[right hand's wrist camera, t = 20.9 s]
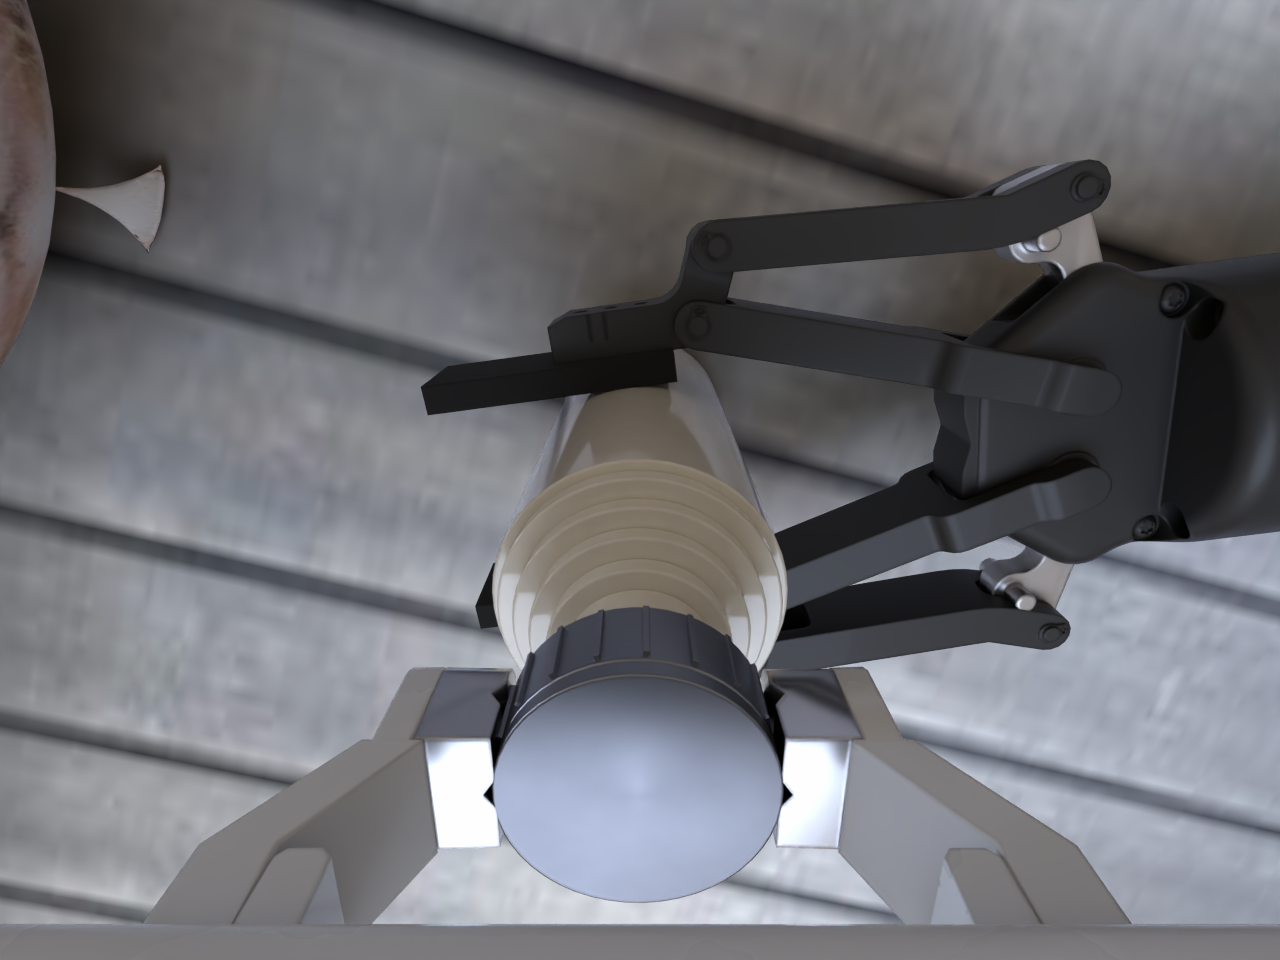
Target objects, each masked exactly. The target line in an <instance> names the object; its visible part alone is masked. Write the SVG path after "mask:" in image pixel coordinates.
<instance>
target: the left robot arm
mask: <svg viewBox="0 0 1280 960" xmlns="http://www.w3.org/2000/svg"><path fill="white" fill-rule="evenodd" d="M1110 187H1111V176H1110V173H1109V171H1108V169H1107V167H1106V166H1105V165H1103V164H1102V163H1101V162H1100V161H1095V160H1082V161H1075V162H1067V163H1059V164H1052V165H1045V166H1038V167H1032V168H1028V169H1025V170H1023V171H1021V172H1018V173H1016V174H1014V175H1012V176H1010V177H1008V178H1005V179H1003V180H1001V181H999V182H997V183H995V184H992V185H990V186H988V187H986V188H984V189H982V190H979V191H977V192H975V193H973V194H971V195H969V196H967V197H964V198H956V199H945V200H933V201H922V202H911V203H899V204H888V205H877V206H866V207H854V208H843V209H832V210H821V211H809V212H798V213H787V214H775V215H764V216H753V217H742V218H730V219H719V220H708V221H704V222H701V223H698V224H697V225H696V226H694V227H693V228H692V229H691V231H690V232H689V234H688V236H687V241H686V249H685V254H684V258H683V262H682V267H681V271H680V275H679V278H678V281H677V283H676V285H675V286H674V288H673V289H672V290H671V291H670V292H669V293H667V294H666V295H664V296H662V297H659V298H655V299H649V300H642V301H635V302H628V303H620V304H613V305H607V306H599V307H593V308H585V309H577V310H570V311H569V312H567V313H565V314H564V315H562V316H560V317H559V318H557V319H555V320H554V321H553V322H552V323H551V324H550V325H549V326H548V333H549V339H550V344H551V350H552V352H549V353H541V354H534V355H527V356H519V357H512V358H505V359H498V360H490V361H483V362H476V363H468V364H461V365H454V366H448V367H446V368H445V369H444V370H442V371H441V372H440V373H438V374H437V375H436V376H434V377H433V378H432V379H431V380H429V381H428V382H427V383H425V384H424V385H423V386H421V390H422V394H423V398H424V402H425V406H426V410H427V414H428V415H434V414H441V413H448V412H456V411H463V410H471V409H478V408H486V407H493V406H501V405H508V404H516V403H523V402H531V401H538V400H545V399H553V398H560V397H568V396H575V395H583V394H590V393H598V392H605V391H613V390H620V389H627V388H635V387H642V386H650V385H657V384H665V383H672V382H678V381H677V372H676V364H675V356H674V350H676V349H683V348H690V349H693V350H698V351H705V352H711V353H717V354H724V355H730V356H736V357H743V358H749V359H755V360H762V361H768V362H774V363H781V364H787V365H793V366H800V367H806V368H812V369H819V370H825V371H831V372H838V373H844V374H850V375H856V376H863V377H869V378H875V379H882V380H888V381H894V382H901V383H907V384H913V385H920V386H925V387H930V388H934V401H935V405H936V408H937V412H938V416H939V419H940V423H941V426H940V430H939V433H938V437H937V440H936V444H935V447H934V454H933V462H931V463H929V464H926V465H924V466H921V467H919V468H916V469H914V470H911V471H909V472H907V473H905V474H904V475H903V476H902V477H901V478H900V480H899V482H898V483H897V484H895V485H893V486H891V487H889V488H886V489H884V490H881V491H879V492H876V493H874V494H872V495H869V496H867V497H864V498H862V499H859V500H857V501H854V502H852V503H849V504H847V505H844V506H842V507H839V508H837V509H834V510H832V511H829V512H827V513H824V514H822V515H820V516H817V517H815V518H812V519H810V520H807V521H805V522H802V523H800V524H797V525H795V526H792V527H790V528H787V529H785V530H782V531H780V532H777V533H775V534H774V535H775V537H776V539H777V542H778V544H779V547H780V549H781V552H782V554H783V559H784V563H785V567H786V571H787V583H788V595H787V607H786V612H785V616H784V621H783V624H782V627H781V629H780V632H779V635H778V637H777V640H776V641H775V644H774V647H773V649H772V651H771V653H770V655H769V657H768V658H767V660H766V662H765V664H764V665H763V667H762V668H761V669H760V671H759V672H758V674H759V678H761V675H762V670H775V669H821V668H828V667H834V666H840V665H847V664H853V663H859V662H865V661H872V660H878V659H884V658H891V657H897V656H903V655H909V654H916V653H922V652H928V651H935V650H941V649H947V648H954V647H960V646H966V645H972V644H979V643H985V642H993V643H1000V644H1007V645H1014V646H1021V647H1028V648H1035V649H1042V650H1047V649H1053V648H1056V647H1058V646H1060V645H1061V644H1062V643H1064V642H1065V641H1066V639H1067V638H1068V636H1069V634H1070V629H1071V628H1070V624H1069V622H1068V621H1067V620H1066V619H1065V618H1064V617H1063V616H1062V615H1061V614H1060V613H1059V612H1058V611H1057V610H1056V606H1057V604H1058V602H1059V599H1060V597H1061V594H1062V592H1063V590H1064V587H1065V585H1066V583H1067V580H1068V578H1069V575H1070V573H1071V571H1072V568H1073V566H1074V564H1081V563H1086V562H1089V561H1092V560H1094V559H1096V558H1098V557H1100V556H1102V555H1103V554H1105V553H1107V552H1108V551H1110V550H1112V549H1114V548H1116V547H1119V546H1121V545H1124V544H1127V543H1130V542H1136V541H1161V542H1195V541H1205V540H1213V539H1221V538H1229V537H1237V536H1246V535H1254V534H1262V533H1270V532H1278V531H1280V253H1272V254H1265V255H1258V256H1250V257H1243V258H1236V259H1229V260H1221V261H1214V262H1207V263H1200V264H1192V265H1185V266H1178V267H1171V268H1163V269H1156V270H1149V271H1141V272H1135V271H1133V270H1130V269H1128V268H1126V267H1124V266H1122V265H1119V264H1116V263H1112V262H1103V259H1102V255H1101V250H1100V246H1099V241H1098V237H1097V232H1096V228H1095V223H1094V219H1093V214H1092V211H1093V210H1095V209H1096V208H1098V207H1099V206H1100V205H1101V204H1102V203H1103V202H1104V200H1105V199H1106V198H1107V195H1108V193H1109V190H1110ZM987 249H994V251H995V253H996V254H997V255H998V256H999V257H1000V258H1001V259H1003V260H1005V261H1010V262H1019V263H1028V264H1031V263H1038V264H1039V265H1040V266H1041V267H1042V269H1043V271H1044V273H1045V274H1044V275H1042V276H1041V277H1040V278H1039V279H1038V280H1036V281H1035V282H1034V283H1033V284H1032V285H1030V286H1029V287H1028V288H1027V289H1026V290H1024V291H1023V292H1022V293H1021V294H1020V295H1018V296H1017V297H1016V298H1015V299H1014V300H1013V301H1011V302H1010V303H1009V304H1008V305H1007V306H1005V307H1004V308H1003V309H1002V310H1001V311H999V312H998V313H997V314H996V315H995V316H993V317H992V318H991V319H990V320H989V321H987V322H986V323H985V324H984V325H983V326H981V327H980V328H979V329H978V330H977V331H975V332H974V333H973V334H972V335H971V336H970V335H964V334H958V333H951V332H945V331H939V330H933V329H927V328H921V327H906V326H900V325H893V324H887V323H881V322H875V321H869V320H863V319H857V318H850V317H844V316H838V315H832V314H826V313H820V312H814V311H807V310H801V309H795V308H789V307H783V306H777V305H771V304H764V303H758V302H752V301H746V300H740V299H734V298H728V297H727V296H728V292H729V288H730V284H731V280H732V276H733V272H737V271H748V270H760V269H771V268H783V267H794V266H806V265H817V264H829V263H840V262H852V261H864V260H875V259H887V258H898V257H910V256H921V255H933V254H944V253H956V252H967V251H979V250H987ZM1005 536H1009V537H1011V538H1012V539H1014V540H1016V541H1018V542H1020V543H1022V544H1024V545H1025V546H1026V548H1025V549H1024V550H1023V551H1022V553H1021V554H1019V555H1018V556H1016V557H1014V558H1011V559H1005V560H997V561H996V560H995V559H992V558H988V559H985V560H984V561H982V563H981V564H980V570H970V569H951V570H943V571H935V572H929V573H923V574H917V575H911V576H905V577H899V578H893V579H887V580H881V581H875V582H869V583H863V584H857V585H852V584H855V583H857V582H860V581H862V580H865V579H868V578H870V577H873V576H875V575H878V574H881V573H883V572H886V571H888V570H891V569H893V568H896V567H899V566H901V565H904V564H906V563H909V562H912V561H914V560H917V559H919V558H922V557H924V556H927V555H930V554H932V553H935V552H939V551H945V552H951V553H961V552H965V551H968V550H971V549H974V548H976V547H979V546H981V545H984V544H987V543H989V542H992V541H994V540H997V539H1000V538H1002V537H1005ZM494 567H495V563H493V566H492V568H491V570H490V573H489V575H488V577H487V580H486V582H485V584H484V587H483V589H482V592H481V594H480V596H479V599H478V601H477V603H476V606H475V607H476V611H477V615H478V619H479V623H480V627H481V629H482V628H491V627H499V626H498V623H497V619H496V615H495V611H494V605H493V595H492V585H493V572H494ZM849 585H851V586H849Z"/></svg>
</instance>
